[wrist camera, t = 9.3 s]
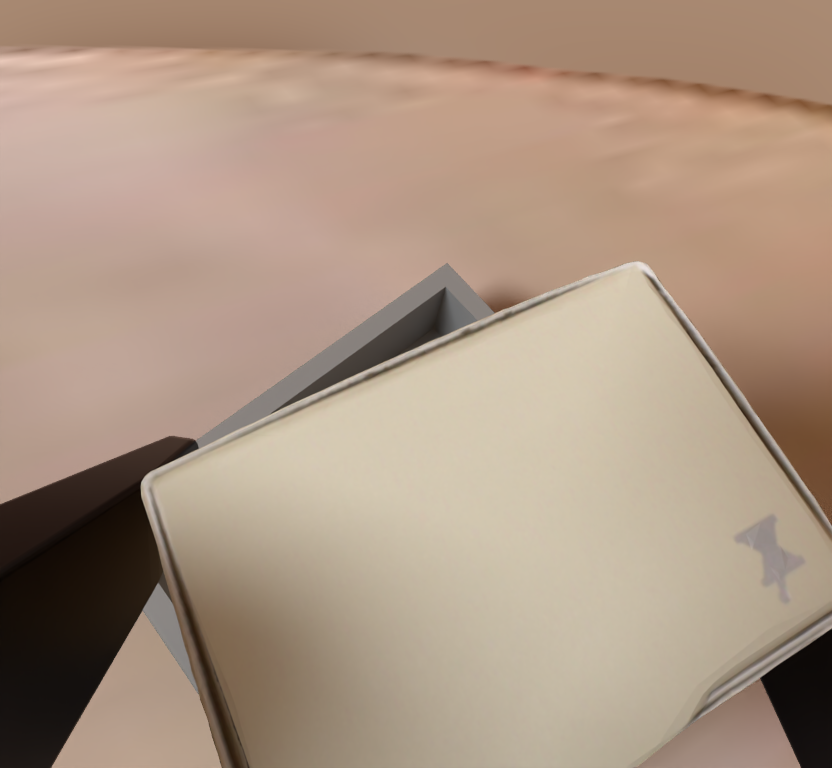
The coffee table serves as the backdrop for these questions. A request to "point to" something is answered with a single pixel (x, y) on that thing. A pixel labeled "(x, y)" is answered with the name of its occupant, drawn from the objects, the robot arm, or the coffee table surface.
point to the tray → (354, 353)
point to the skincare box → (495, 548)
